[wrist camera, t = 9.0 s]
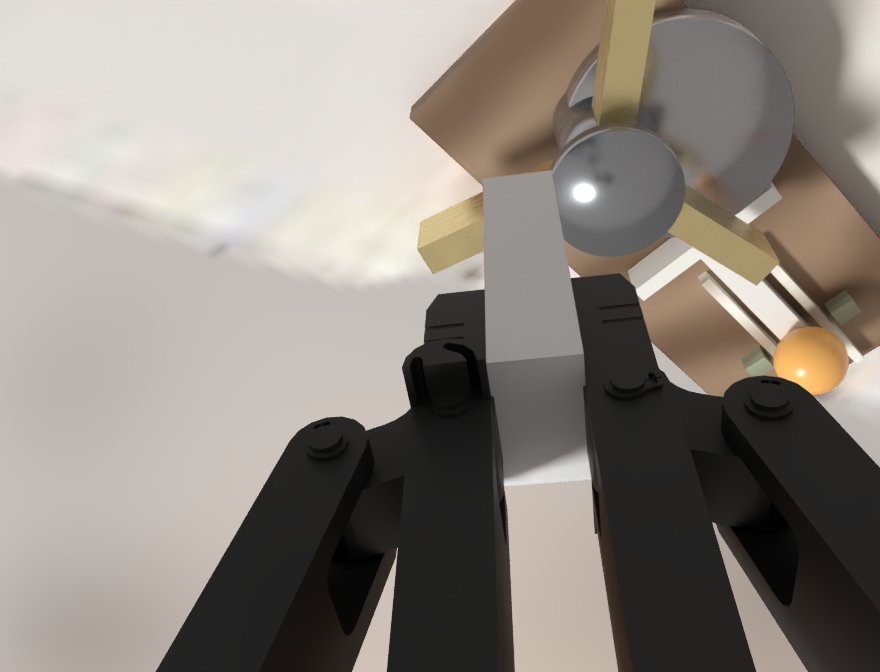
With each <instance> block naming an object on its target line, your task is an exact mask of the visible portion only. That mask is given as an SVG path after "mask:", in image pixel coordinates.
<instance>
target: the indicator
mask: <svg viewBox="0 0 880 672" xmlns="http://www.w3.org/2000/svg"><path fill="white" fill-rule="evenodd" d="M781 199H782V197H781V195H780V194H779V192H778V191H777V189H776V188H775V186H774V185H773V183H772V182H770V184H769V185H768V186H767V187H766V188H765V190H764V191H763V192H762V193H761V194H760V195H759V196H758V197H757V198H756V199H755V200H754V201H753V202H752V203H751V204H750V205H748V206H747V207H746V208H745V209H743V210H742V211H741V212H739V213H738V214H736V215H735V216H736V217H738V218H739V219H741V220H742V221H744V222H746V223H747V224H749V223H750V222H751V221H753V220H754V219H755V218H757V217H758V216H759V215H761V214H762V213H763V212H765V211H766V210H768V209H769V208H770V207H772V206H773V205H774V204H776V203H777V202H778V201H780V200H781ZM700 259H701V260H702V261H703V262H704V263H705V264H706V265H707V266H708V267H709V268H710V269H711V270H712V271H713V272H714V273H715V274H716V275H717V276H718V277H719V278H720V279H721V280H722V281H723V282H724V283H725V284H726V285H727V286H728V287H729V288H730V289H731V290H732V291H733V292H734V293H735V294H736V295H737V296H738V297H739V299H740V300H741V301H742V302H743V303H744V304H745V305H746V306H747V307H748V308H749V309H750V310H751V311H752V312H753V313H754V314H755V315H756V316H757V317H758V318H759V319H760V320H761V321H762V322H763V323H764V324H765V325H766V326H767V327H768V328H769V329H770V330H771V331H772V332H773V333H774V334H775V335H776V336H777V337H778V338H779V339H780V340H781V341H780V342H779V343H778V345H777V347H776V350H775V352H774V368H775V371H776V374H777V376H778V377H781V378H784V379H787V380H789V381H792V382H795V383H798V384H799V385H800V386H802V387H803V388H804V389H806V390H807V391H808V392H810V393H811V394H812V395H818V394H823V393H826V392H828V391H830V390H832V389H834V388H835V387H836V386H837V385H839V384H840V383H841V381H842V380H843V378H844V377H845V375H846V373H847V369H848V365H849V358H848V353H847V350H846V347H845V345H844V344H843V342H842V341H841V340H840V339H839V338H838V337H837V336H836V335H835V334H834V333H832V332H830V331H828V330H826V329H823V328H820V327H812V326H809V325H808V324H807V322H806V321H805V320H804V319H803V318H802V317H801V316H800V315H799V314H798V313H797V312H796V311H795V310H794V309H793V308H792V307H791V306H790V304H789V303H788V302H787V301H786V300H785V299H784V298H783V297H782V296H781V295H780V294H779V293H778V292H777V291H776V290H775V289H774V288H773V286H772V285H771V284H770V283H769V282H768V281H767V280H766V279H765V278H764V279H763V280H762V281H761V282H760V283H759V284H758V285H757V286H756V285H754V284H753V283H751V282H749V281H748V280H746V279H744V278H743V277H741V276H740V275H738V274H736V273H735V272H733V271H731V270H730V269H728V268H726V267H725V266H723V265H721V264H720V263H718V262H716V261H715V260H713V259H712V258H710V257H708V256H707V255H705V254H703V253H702V252H700V251H698V250H697V249H695V248H693V247H692V246H690V245H688V244H687V243H685V242H684V241H682V240H680V239H679V238H677V237H672V238H670V239H669V240H667V241H666V242H665V243H663V244H662V245H661V246H659V247H658V248H657V249H655V250H654V251H653V252H652V253H650V254H649V255H648V256H646V257H645V258H644V259H642V260H641V261H640V262H639V263H637V264H636V265H635V266H633V267H632V268H631V269H629V270H628V273H629V277H630V280H631V284H633V285H634V286H635V289H636V292H637V295H638V296H639V297H640V298H641V299H642V300H643V301H644V300H646V299H647V298H648V297H650V296H651V295H652V294H654V293H655V292H656V291H658V290H659V289H661V288H662V287H663V286H665V285H666V284H667V283H669V282H670V281H671V280H673V279H674V278H675V277H677V276H678V275H679V274H681V273H682V272H684V271H685V270H686V269H688V268H689V267H690V266H692V265H693V264H694V263H696V262H697V261H698V260H700Z"/></svg>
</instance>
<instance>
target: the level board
mask: <svg viewBox="0 0 880 672" xmlns="http://www.w3.org/2000/svg"><path fill="white" fill-rule="evenodd" d="M604 4H605V0H516V1H515V2H514V3H513V4H512V5H511V6H510V7H509V8H508V9H507V10H506V11H505V12H504V13H503V14H502V15H501V16H500V17H499V18H498V19H497V20H496V21H495V22H494V23H493V24H492V25H491V26H490V27H489V28H488V29H487V30H486V31H485V32H484V33H483V34H482V35H481V36H480V37H479V38H478V39H477V40H476V42H475V43H474V44H473V45H472V46H471V47H470V48H469V49H468V50H467V51H466V52H465V53H464V54H463V55H462V56H461V57H460V58H459V59H458V60H457V61H456V62H455V63H454V64H453V65H452V66H451V67H450V68H449V69H448V70H447V71H446V72H445V73H444V74H443V75H442V76H441V77H440V78H439V79H438V80H437V81H436V82H435V84H434V85H433V86H432V87H431V88H430V89H429V90H428V91H427V92H426V93H425V94H424V95H423V96H422V97H421V98H420V99H419V100H418V101H417V102H416V103H415V104H414V105H413V106H412V108H411V113H410V119H411V120H412V121H413V122H414V123H415V124H416V125H417V126H418V127H419V128H421V129H422V130H423V131H424V132H425V133H426V134H427V135H428V136H429V137H430V138H431V139H432V140H434V141H435V142H436V143H437V144H438V145H439V146H440V147H441V148H442V149H443V150H444V151H445V152H447V153H448V154H449V155H450V156H451V157H452V158H453V159H454V160H455V161H456V162H457V163H458V164H460V165H461V166H462V167H463V168H464V169H465V170H466V171H467V172H468V173H469V174H470V175H471V176H472V177H474V178H475V179H476V180H477V181H478V182H479V183H480V184H481V185H482V186H483V178H492V177H500V176H508V175H516V174H521V173H523V172H526V171H528V170H530V169H532V168H534V167H536V166H538V165H540V164H542V163H544V162H546V161H548V160H551V159H553V161H554V159H555V158H556V156H557V155H558V147H557V142H556V137H555V132H554V126H553V116H554V111H555V108H556V106H557V104H558V102H559V100H560V99H561V97H562V96H563V95H564V94H565V93H566V90H567V88H568V86H569V84H570V82H571V79H572V77H573V76H574V74H575V72H576V71H577V69H578V67H579V66H580V64H581V63H582V62H583V60H584V59H585V58H586V57H587V55H588V54H589V53H590V52H591V51H592V50H593V49H594V48H595V47H596V46H597V45H598V44H599V43H600V35H601V27H602V20H603V12H604ZM686 8H687V6H686V5H685V4H684V3H683V2H682V0H656V2H655V8H654V13H655V12H659V11H665V10H670V9H686ZM771 182H772V183H773V185H774V186H775V188H776V189H777V191H778V192H779V194H780V195H781V197H782V199H781V200H780V201H778V202H777V203H776V204H774V205H773V206H772V207H770V208H769V209H768V210H766V211H765V212H763V213H762V214H761V215H759V216H758V217H757V218H755V219H754V220H753V221H751V222H750V223H749V225H750V226H752V227H754V228H755V229H757V230H758V231H760V232H761V233H763V234H764V235H765V237H766V239H767V240H768V242H769V244H770V246H771V247H772V249H773V251H774V252H775V254H776V256H777V258H778V259H779V261H780V263H779V264H778V265H777V266H776V267H775V268H774V269H773V270H772V271H771V272H770V273H769V274H768V275H767V276H766V277H765V279H766V280H767V281H768V282H769V283H770V284H771V285H772V286H773V288H774V289H775V290H776V291H777V292H778V293H779V294H780V295H781V296H782V297H783V298H784V299H785V300H786V301H787V302H788V303H789V304H790V306H791V307H792V308H793V309H794V310H795V311H796V312H797V313H798V314H799V315H800V316H801V317H802V318H803V319H804V320H805V321H806V322H807V324H808V325H809V326H812V327H820V328H823V329H826V330H828V331H830V332H832V333H834V334H835V335H836V336H837V337H838V338H839V339H840V340H841V341H842V342H843V344H844V345H845V347H846V350H847V353H848V358H849V364H850V363H852V362H855V363H856V364H857V363H858V362H860V361H862V360H863V359H864V357H863V355H865V354H867V353H868V352H870V351H872V350H873V349H875V348H876V347H878V346H880V238H879V237H878V236H877V235H876V233H875V232H874V231H873V230H872V229H871V227H870V226H869V225H868V224H867V223H866V221H865V220H864V219H863V218H862V217H861V215H860V214H859V213H858V212H857V211H856V209H855V208H854V207H853V206H852V205H851V203H850V202H849V201H848V200H847V199H846V197H845V196H844V195H843V194H842V193H841V191H840V190H839V189H838V188H837V187H836V185H835V184H834V183H833V182H832V181H831V179H830V178H829V177H828V176H827V175H826V173H825V172H824V171H823V170H822V169H821V167H820V166H819V165H818V164H817V162H816V161H815V160H814V159H813V158H812V156H811V155H810V154H809V153H808V152H807V150H806V149H805V148H804V147H803V146H802V144H801V143H800V142H799V141H798V140H797V138H796V137H795V136H794V135H793V134H792V138H791V142H790V145H789V148H788V151H787V154H786V156H785V158H784V160H783V163H782V165H781V167H780V169H779V170H778V172H777V173H776V175H775V176H774V178H773V179H772V181H771ZM669 239H670V238H660V239H659V240H658V241H656V242H655V243H653V244H652V245H650V246H649V247H647V248H645V249H642V250H640V251H638V252H635V253H632V254H628V255H624V256H616V257H603V256H596V255H591V254H588V253H585V252H582V251H580V250H578V249H576V248H574V247H573V246H571V245H570V244H568V243H567V242H566V241H565V240H564V244H565V250H566V256H567V261H568V265H569V266H570V267H571V268H572V269H573V270H574V271H575V272H576V273H577V274H578V275H580V276H581V277H588V276H597V275H607V274H616V273H620V274H621V275H622V276H624V277H625V278H626V279H627V280H628V281H629V282H630V283H631V280H630V277H629V273H628V270H629V269H631V268H632V267H633V266H635V265H636V264H637V263H639V262H640V261H641V260H642V259H644V258H645V257H646V256H648V255H649V254H650V253H652V252H653V251H654V250H655V249H657V248H658V247H659V246H661V245H662V244H663V243H665V242H666V241H667V240H669ZM637 296H638V295H637ZM638 299H639V302H640V306H641V309H642V313H643V316H644V320H645V323H646V327H647V330H648V334H649V337H650V340H651V342H652V343H653V344H654V345H655V346H656V347H657V348H658V349H660V350H661V351H662V352H663V353H664V354H665V355H666V356H667V357H668V358H669V359H670V360H672V361H673V362H674V363H675V364H676V365H677V366H678V367H679V368H680V369H681V370H682V371H684V372H685V373H686V374H687V375H688V376H689V377H690V378H691V379H692V380H693V381H694V382H695V383H696V384H697V385H698V386H700V387H701V388H702V389H703V390H704V391H705V392H706V393H707V394H708V395H713V396H721V397H724V392H725V391H726V390H727V389H728V388H729V387H730V386H731V385H732V384H733V383H735V382H737V381H739V380H742V379H744V378H746V377H754V376H763V375H765V376H773V377H778V376H777V374H776V371H775V368H774V352H775V350H776V347H777V345H778V343H779V342H780V341H781V340H780V339H779V338H778V337H777V336H776V335H775V334H774V333H773V332H772V331H771V330H770V329H769V328H768V327H767V326H766V325H765V324H764V323H763V322H762V321H761V320H760V319H759V318H758V317H757V316H756V315H755V314H754V313H753V312H752V311H751V310H750V309H749V308H748V307H747V306H746V305H745V304H744V303H743V302H742V301H741V300H740V299H739V297H738V296H737V295H736V294H735V293H734V292H733V291H732V290H731V289H730V288H729V287H728V286H727V285H726V284H725V283H724V282H723V281H722V280H721V279H720V278H719V277H718V276H717V275H716V274H715V273H714V272H713V271H712V270H711V269H710V268H709V267H708V266H707V265H706V264H705V263H704V262H703V261H702V260H701V259H700V260H698V261H697V262H696V263H694V264H693V265H692V266H690V267H689V268H688V269H686V270H685V271H684V272H682V273H681V274H679V275H678V276H677V277H675V278H674V279H673V280H671V281H670V282H669V283H667V284H666V285H665V286H663V287H662V288H661V289H659V290H658V291H656V292H655V293H654V294H652V295H651V296H650V297H648V298H647V299H646V300H644V301H643V300H642V299H641V298H640V297H639V296H638Z"/></svg>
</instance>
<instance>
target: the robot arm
mask: <svg viewBox="0 0 880 672" xmlns="http://www.w3.org/2000/svg"><path fill="white" fill-rule="evenodd" d="M483 222H484V275H485V289H484V290H475V291H466V292H456V293H447V294H439V295H438V296H437V297H436V298H435V300H434V301H433V302H432V303H431V305H430V306H429V308H428V309H427V310H426V322H425V334H424V345H422V346H420V347H418V348H416V349H415V350H413V351H412V352H411V354H409V355H408V356H407V357H406V359H405V361H404V364H403V366H402V370H403V374H404V379H405V383H406V388H407V392H408V397H409V401H410V405H411V409H410V410H409V411H408V412H407V413H406V414H404V415H403V416H401V417H399V418H398V419H396V420H395V421H392V422H390V423H387V424H385V425H382V426H380V427H376V428H373V429H370V430H367V431H366V430H365V428H364V426H362V425H361V424H360V423H358V422H357V421H356V420H354V419H349V418H345V417H329V418H324V419H321V420H318V421H315V422H312V423H310V424H309V425H307V426H306V427H304V428H302V429H301V430H299V431H298V432H297V433H296V435H295V436H294V437H293V438H292V439H291V440H290V442H289V443H288V445H287V447H286V449H285V451H284V452H283V454H282V456H281V457H280V459H279V461H278V462H277V464H276V466H275V467H274V469H273V471H272V473H271V474H270V476H269V478H268V480H267V481H266V483H265V485H264V487H263V488H262V490H261V492H260V493H259V495H258V497H257V498H256V500H255V502H254V504H253V505H252V507H251V509H250V510H249V512H248V514H247V516H246V517H245V519H244V521H243V523H242V524H241V526H240V528H239V530H238V531H237V533H236V535H235V536H234V538H233V540H232V542H231V543H230V545H229V547H228V548H227V550H226V552H225V553H224V555H223V557H222V559H221V561H220V562H219V564H218V566H217V567H216V569H215V571H214V572H213V574H212V576H211V578H210V579H209V581H208V583H207V584H206V586H205V588H204V590H203V591H202V593H201V595H200V597H199V598H198V600H197V602H196V604H195V605H194V607H193V609H192V611H191V612H190V614H189V616H188V617H187V619H186V621H185V622H184V624H183V626H182V628H181V629H180V631H179V633H178V635H177V636H176V638H175V640H174V641H173V643H172V645H171V647H170V648H169V650H168V652H167V653H166V655H165V657H164V658H163V660H162V662H161V664H160V665H159V667H158V669H157V670H156V672H352V670H353V667H354V665H355V662H356V659H357V657H358V654H359V652H360V649H361V646H362V644H363V641H364V639H365V636H366V633H367V631H368V628H369V625H370V623H371V620H372V618H373V615H374V612H375V610H376V607H377V605H378V602H379V599H380V597H381V594H382V592H383V589H384V586H385V584H386V581H387V578H388V576H389V573H390V570H391V568H392V565H393V563H394V560H395V558H396V551H397V548H398V555H397V566H396V576H395V587H394V599H393V610H392V621H391V632H390V644H389V654H388V666H387V672H515V668H514V645H513V625H512V624H513V623H512V601H511V580H510V559H509V538H508V537H509V536H508V516H507V505H506V498H505V491H504V486H515V485H527V484H538V483H552V482H565V481H576V480H590V479H592V492H593V510H594V526H595V534H598V539H599V546H600V553H601V559H602V566H603V572H604V579H605V586H606V592H607V599H608V606H609V612H610V619H611V626H612V632H613V639H614V645H615V652H616V658H617V666H618V672H756V670H755V666H754V663H753V659H752V656H751V653H750V650H749V646H748V642H747V639H746V636H745V632H744V629H743V626H742V622H741V619H740V616H739V612H738V609H737V605H736V602H735V599H734V595H733V592H732V589H731V585H730V582H729V578H728V575H727V572H726V568H725V565H724V562H723V558H722V555H721V551H720V548H719V545H718V541H717V538H716V535H715V531H714V528H713V524H712V522H714V523H716V525H717V528H718V531H719V533H720V534H721V536H722V538H723V539H724V541H725V542H726V544H727V545H728V547H729V549H730V550H731V552H732V553H733V555H734V556H735V558H736V559H737V561H738V563H739V564H740V566H741V567H742V569H743V570H744V572H745V574H746V575H747V577H748V578H749V580H750V581H751V583H752V585H753V586H754V588H755V589H756V591H757V592H758V594H759V596H760V597H761V599H762V600H763V602H764V603H765V605H766V607H767V608H768V610H769V611H770V613H771V614H772V616H773V617H774V619H775V621H776V622H777V624H778V625H779V627H780V628H781V630H782V631H783V633H784V635H785V636H786V638H787V639H788V641H789V643H790V644H791V646H792V647H793V649H794V650H795V652H796V653H797V655H798V657H799V658H800V660H801V661H802V663H803V664H804V666H805V667H806V669H807V671H808V672H880V467H879V466H878V465H877V464H876V463H875V462H874V461H873V460H872V459H871V458H870V457H869V456H868V455H867V454H866V452H865V451H864V450H863V449H862V448H861V447H860V446H859V445H858V444H857V443H856V442H855V441H854V440H853V438H852V437H851V436H850V435H849V434H848V433H847V432H846V431H845V430H844V429H843V428H842V427H841V425H840V424H839V423H838V422H837V421H836V420H835V419H834V418H833V417H832V416H831V415H830V414H829V413H828V411H827V410H826V409H825V408H824V407H823V406H822V405H821V404H820V403H819V402H818V401H817V400H816V399H815V398H814V396H813V395H812V394H811V393H810V392H808V391H807V390H806V389H804V388H803V387H802V386H800V385H799V384H798V383H795V382H792V381H789V380H787V379H784V378H781V377H773V376H765V375H763V376H754V377H746V378H744V379H742V380H739V381H737V382H735V383H733V384H732V385H731V386H730V387H729V388H728V389H727V390H726V391H725V392H724V397H721V396H713V395H706V394H700V393H695V392H690V391H687V390H685V389H682V388H680V387H677V386H676V385H674V384H673V383H671V382H670V381H669V380H668V378H667V376H666V375H665V373H664V372H663V371H661V370H660V369H659V367H658V365H657V361H656V358H655V354H654V351H653V347H652V344H651V340H650V337H649V334H648V330H647V327H646V323H645V320H644V316H643V313H642V309H641V306H640V302H639V299H638V296H637V292H636V289H635V286H634V285H633V284H631V283H630V282H629V281H628V280H627V279H626V278H625V277H624V276H622V275H621V274H620V273H616V274H607V275H597V276H588V277H579V278H570V273H569V267H568V261H567V256H566V250H565V244H564V238H563V233H562V227H561V221H560V216H559V210H558V204H557V199H556V193H555V187H554V182H553V176H552V170H549V171H540V172H532V173H524V174H516V175H508V176H500V177H492V178H483Z"/></svg>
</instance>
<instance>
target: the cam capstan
mask: <svg viewBox="0 0 880 672" xmlns="http://www.w3.org/2000/svg"><path fill="white" fill-rule="evenodd" d="M655 2H656V0H605V4H604V12H603V20H602V27H601V35H600V43H599V44H598V45H597V46H596V47H595V48H594V49H593V50H592V51H591V52H590V53H589V54H588V55H587V57H586V58H585V59H584V60H583V62H582V63H581V64H580V66H579V67H578V69H577V71H576V72H575V74H574V76H573V77H572V79H571V82H570V84H569V86H568V88H567V90H566V93H565V94H564V95H563V96H562V97H561V99H560V100H559V102H558V104H557V106H556V108H555V111H554V116H553V126H554V132H555V137H556V142H557V147H558V155H557V156H556V158H555V159H554V161H553V159H551V160H548V161H546V162H544V163H542V164H540V165H538V166H536V167H534V168H532V169H530V170H528V171H526V172H523V173H521V174H524V173H532V172H540V171H549V170H552V176H553V182H554V187H555V193H556V199H557V204H558V210H559V216H560V221H561V227H562V233H563V238H564V240H565V241H566V242H567V243H568V244H570V245H571V246H573V247H574V248H576V249H578V250H580V251H582V252H585V253H588V254H591V255H596V256H603V257H616V256H624V255H628V254H632V253H635V252H638V251H640V250H642V249H645V248H647V247H649V246H650V245H652V244H653V243H655V242H656V241H658V240H659V239H660V238H672V237H677V238H679V239H680V240H682V241H684V242H685V243H687V244H688V245H690V246H692V247H693V248H695V249H697V250H698V251H700V252H702V253H703V254H705V255H707V256H708V257H710V258H712V259H713V260H715V261H716V262H718V263H720V264H721V265H723V266H725V267H726V268H728V269H730V270H731V271H733V272H735V273H736V274H738V275H740V276H741V277H743V278H744V279H746V280H748V281H749V282H751V283H753V284H754V285H756V286H757V285H758V284H759V283H760V282H761V281H762V280H763V279H764V278H765V277H766V276H767V275H768V274H769V273H770V272H771V271H772V270H773V269H774V268H775V267H776V266H777V265H778V264H779V263H780V261H779V259H778V258H777V256H776V254H775V252H774V251H773V249H772V247H771V246H770V244H769V242H768V240H767V239H766V237H765V235H764V234H763V233H761V232H760V231H758V230H757V229H755V228H754V227H752V226H750V225H749V224H747V223H746V222H744V221H742V220H741V219H739V218H738V217H736V216H735V215H736V214H738V213H739V212H741V211H742V210H743V209H745V208H746V207H747V206H748V205H750V204H751V203H752V202H753V201H754V200H755V199H756V198H757V197H758V196H759V195H760V194H761V193H762V192H763V191H764V190H765V188H766V187H767V186H768V185H769V184H770V182H771V181H772V179H773V178H774V176H775V175H776V173H777V172H778V170H779V169H780V167H781V165H782V163H783V160H784V158H785V156H786V154H787V151H788V148H789V145H790V142H791V138H792V133H793V128H794V115H795V111H794V99H793V95H792V90H791V86H790V83H789V81H788V78H787V76H786V73H785V71H784V70H783V68H782V66H781V65H780V63H779V61H778V60H777V59H776V57H775V56H774V55H773V54H772V53H771V52H770V50H769V49H768V48H767V47H766V46H765V45H764V44H763V43H762V42H761V41H760V40H759V39H758V38H757V37H756V36H755V35H754V34H753V33H752V32H751V31H750V30H748V29H747V28H746V27H745V26H743V25H742V24H740V23H738V22H737V21H735V20H733V19H731V18H729V17H726V16H724V15H722V14H719V13H715V12H711V11H707V10H701V9H691V8H686V9H670V10H665V11H659V12H655V13H654V8H655ZM417 250H418V251H419V253H420V254H421V256H422V258H423V259H424V261H425V262H426V264H427V265H428V267H429V268H430V270H431V272H432V273H433V274H434V273H437V272H439V271H441V270H443V269H445V268H448V267H450V266H452V265H454V264H456V263H459V262H461V261H463V260H465V259H467V258H470V257H472V256H474V255H476V254H478V253H481V252H483V251H484V222H483V192H482V193H480V194H478V195H475V196H473V197H471V198H469V199H467V200H465V201H463V202H461V203H459V204H457V205H455V206H453V207H450V208H448V209H446V210H444V211H442V212H440V213H438V214H436V215H434V216H432V217H430V218H428V219H425V220H423V221H421V222H420V230H419V238H418V247H417Z"/></svg>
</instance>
